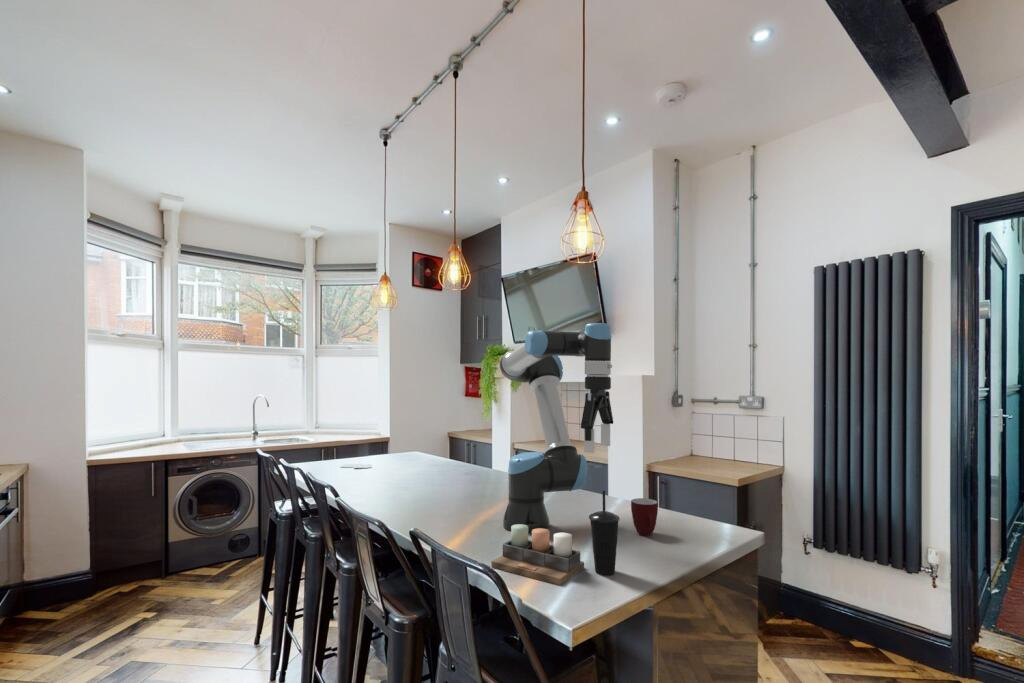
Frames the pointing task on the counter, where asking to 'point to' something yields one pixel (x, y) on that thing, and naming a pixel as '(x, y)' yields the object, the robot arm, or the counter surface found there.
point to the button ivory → (563, 545)
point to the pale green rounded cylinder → (519, 535)
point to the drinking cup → (604, 540)
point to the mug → (644, 515)
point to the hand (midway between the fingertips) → (597, 449)
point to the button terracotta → (540, 540)
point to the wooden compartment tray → (538, 563)
